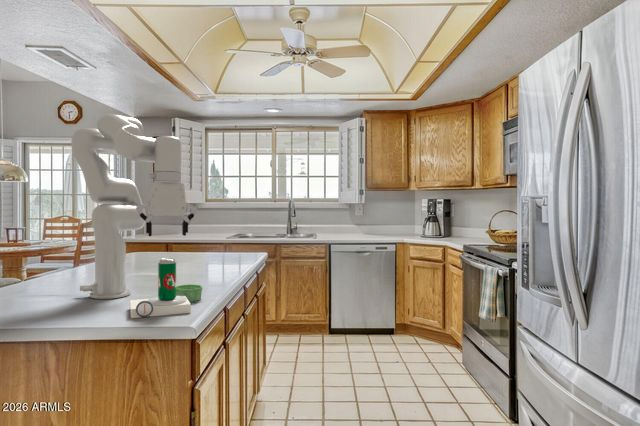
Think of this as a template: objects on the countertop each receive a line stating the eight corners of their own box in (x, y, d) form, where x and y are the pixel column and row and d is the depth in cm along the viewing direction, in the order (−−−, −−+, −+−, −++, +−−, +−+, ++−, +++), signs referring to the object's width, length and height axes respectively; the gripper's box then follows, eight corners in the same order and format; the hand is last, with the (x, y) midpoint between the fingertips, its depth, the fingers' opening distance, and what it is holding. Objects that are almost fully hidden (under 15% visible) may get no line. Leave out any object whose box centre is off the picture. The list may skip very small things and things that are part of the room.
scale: (130, 318, 115) (130, 302, 115) (130, 308, 126) (130, 293, 126) (191, 313, 121) (191, 297, 121) (185, 303, 133) (185, 289, 133)
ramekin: (193, 303, 134) (193, 290, 133) (168, 301, 136) (168, 288, 136) (207, 297, 142) (207, 285, 142) (183, 296, 144) (183, 283, 144)
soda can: (161, 297, 127) (161, 258, 127) (177, 297, 128) (178, 258, 128) (155, 301, 122) (156, 260, 122) (173, 301, 123) (173, 260, 123)
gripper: (136, 176, 118) (136, 237, 118) (199, 179, 125) (198, 236, 125) (136, 177, 124) (135, 235, 125) (195, 180, 132) (195, 234, 132)
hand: (167, 235), depth 125 cm, fingers open, 9 cm apart
